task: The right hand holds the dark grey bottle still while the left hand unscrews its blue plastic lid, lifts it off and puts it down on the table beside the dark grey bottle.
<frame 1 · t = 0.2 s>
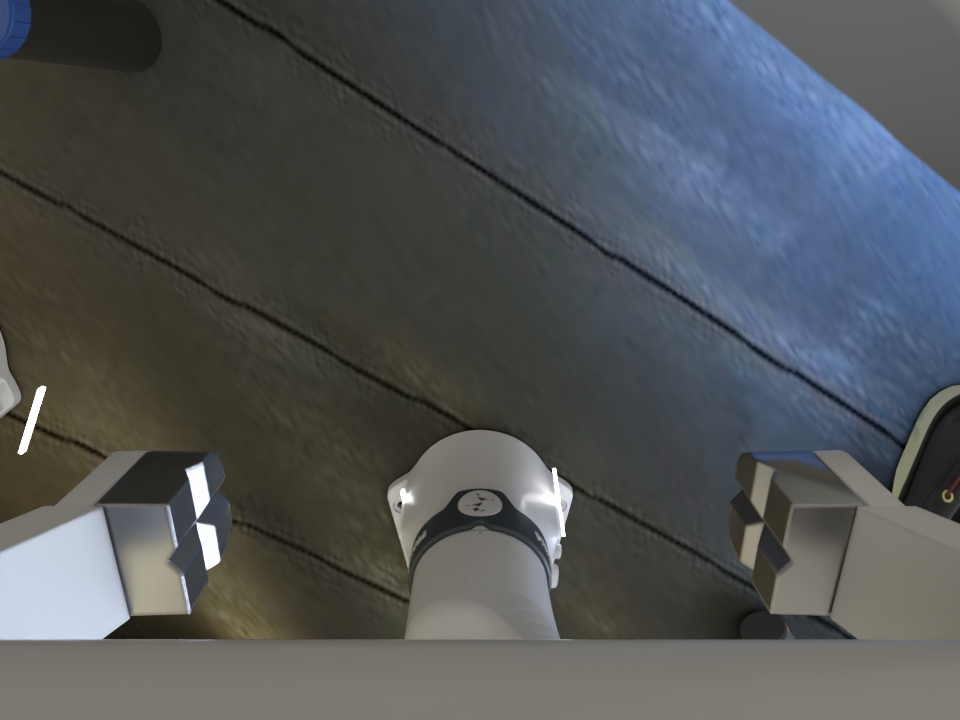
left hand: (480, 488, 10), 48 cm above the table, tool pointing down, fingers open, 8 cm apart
dark grey bottle: (126, 34, 51), on the table
boat shoe: (928, 523, 67), on the table
power drill: (745, 679, 75), on the table
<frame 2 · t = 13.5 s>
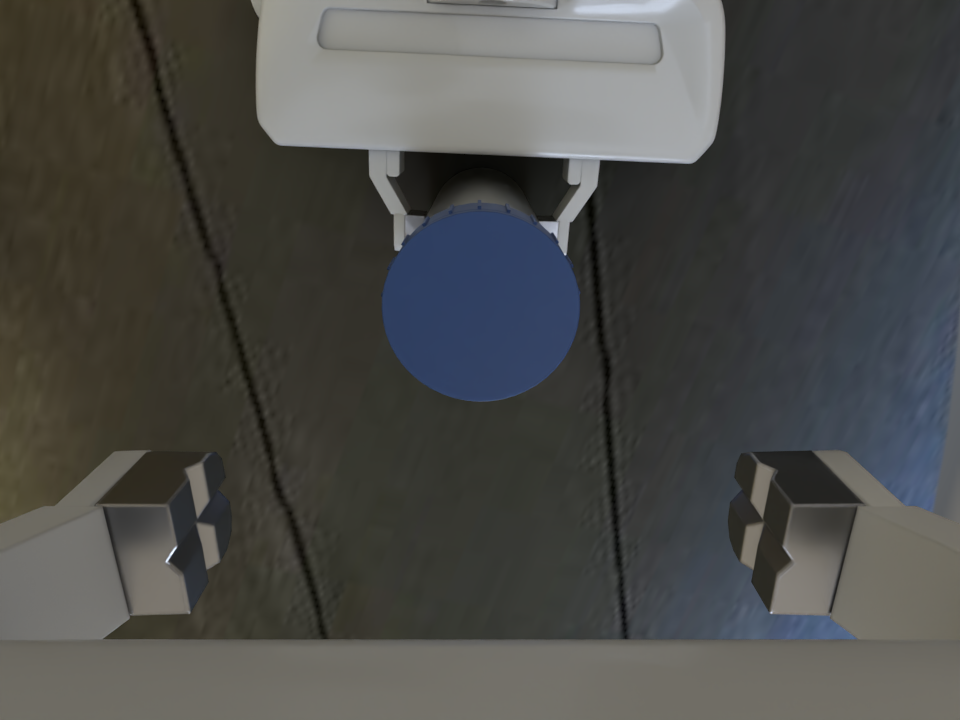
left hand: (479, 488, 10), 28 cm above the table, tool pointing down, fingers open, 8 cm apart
dark grey bottle: (481, 217, 36), on the table, touching right hand
lid: (480, 308, 19), point 18 cm above the table, screwed on, not yet turned
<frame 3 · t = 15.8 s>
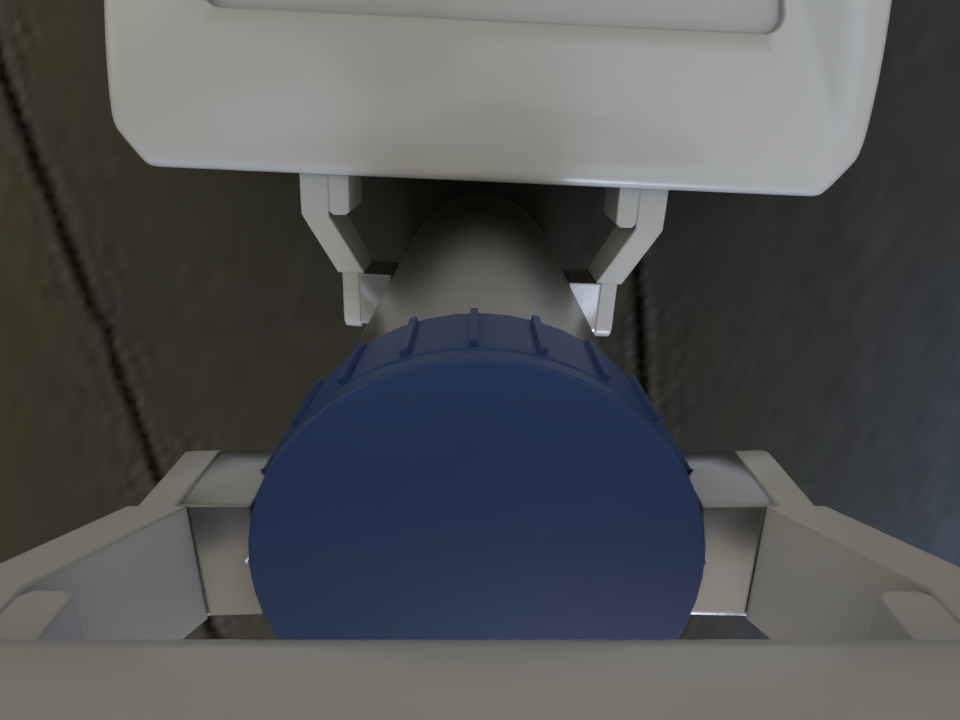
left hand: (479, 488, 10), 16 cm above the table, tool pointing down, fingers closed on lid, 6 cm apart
dark grey bottle: (479, 263, 25), on the table, touching right hand
lid: (476, 554, 9), point 18 cm above the table, screwed on, not yet turned, touching left hand
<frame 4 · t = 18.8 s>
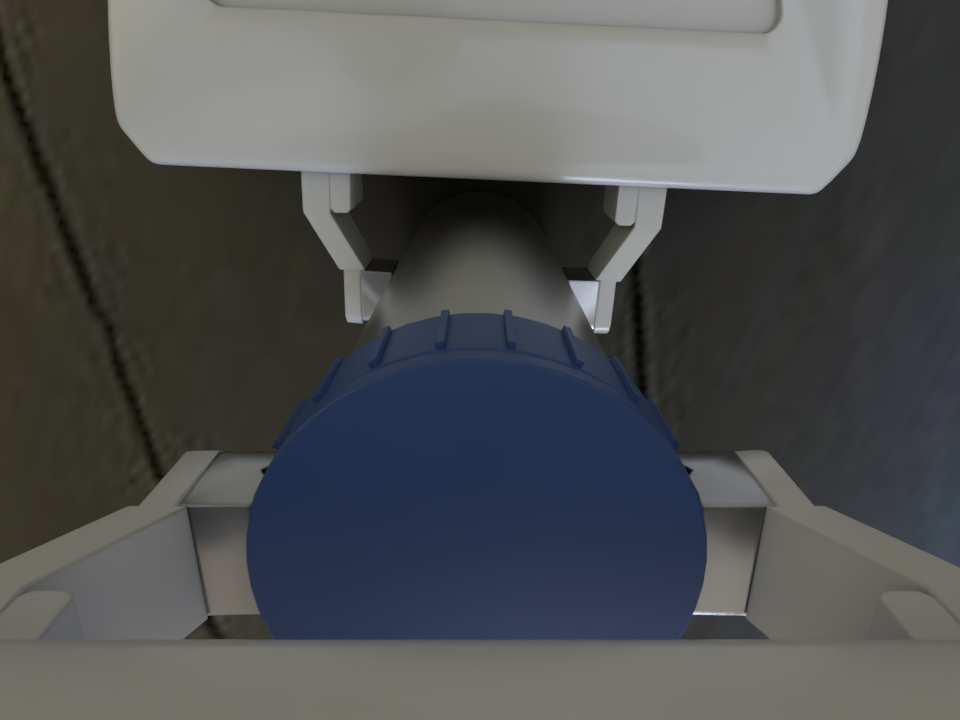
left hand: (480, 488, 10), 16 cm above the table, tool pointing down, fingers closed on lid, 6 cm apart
dark grey bottle: (479, 261, 25), on the table, touching right hand
lid: (476, 556, 9), point 18 cm above the table, turned 73° so far, risen 0.2 cm, still on its thread, touching left hand
when the left hand's fingers open (2 cm above the table, at t = 26.1 s): lid drops 2 cm, point 2 cm above the table.
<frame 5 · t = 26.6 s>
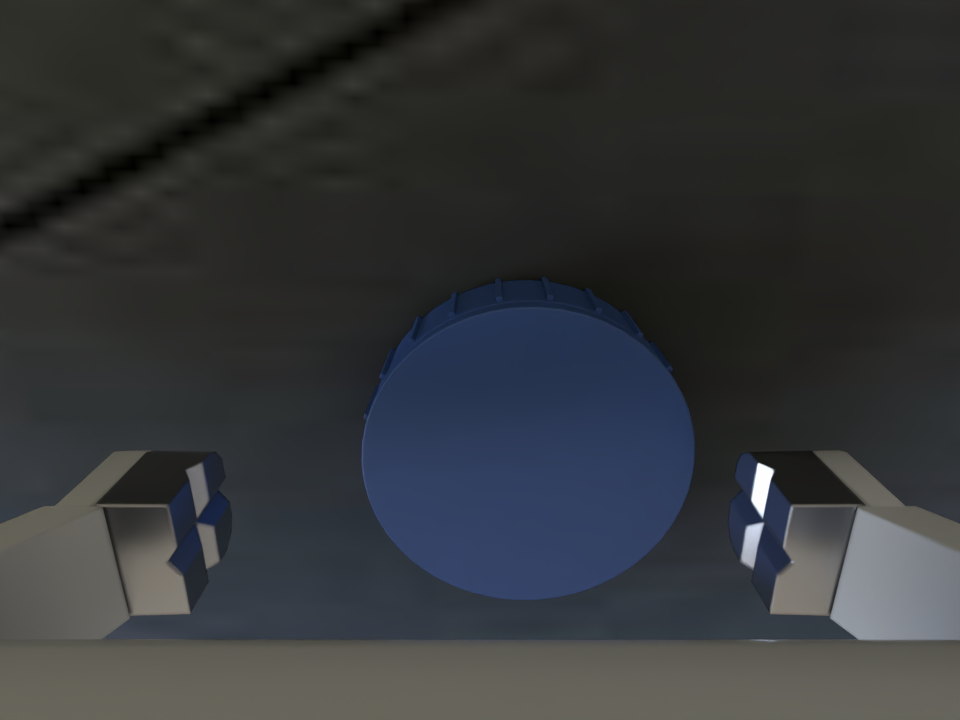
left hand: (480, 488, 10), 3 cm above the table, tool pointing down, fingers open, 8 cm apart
lid: (526, 457, 12), point 2 cm above the table, off its thread
when the right hand's fingers open (5 cm above the table, at t = 27.1 s): dark grey bottle stays where it is, on the table.
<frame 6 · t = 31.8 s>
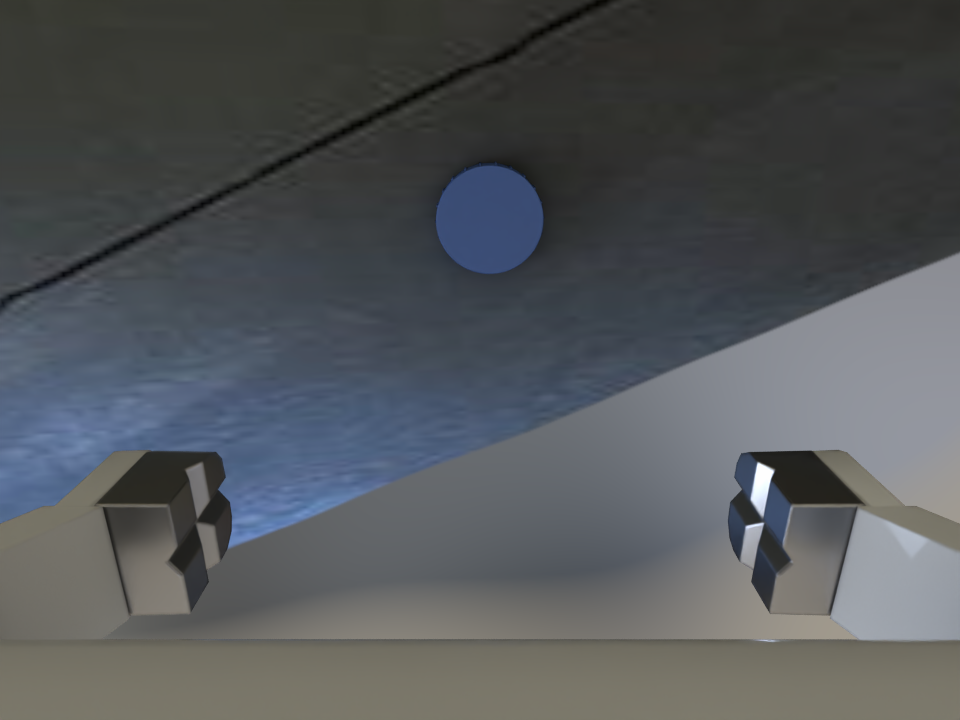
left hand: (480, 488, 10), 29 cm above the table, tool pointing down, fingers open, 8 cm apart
lid: (489, 220, 36), point 2 cm above the table, off its thread
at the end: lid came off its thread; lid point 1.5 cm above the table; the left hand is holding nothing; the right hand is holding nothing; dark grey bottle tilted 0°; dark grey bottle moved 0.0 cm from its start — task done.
